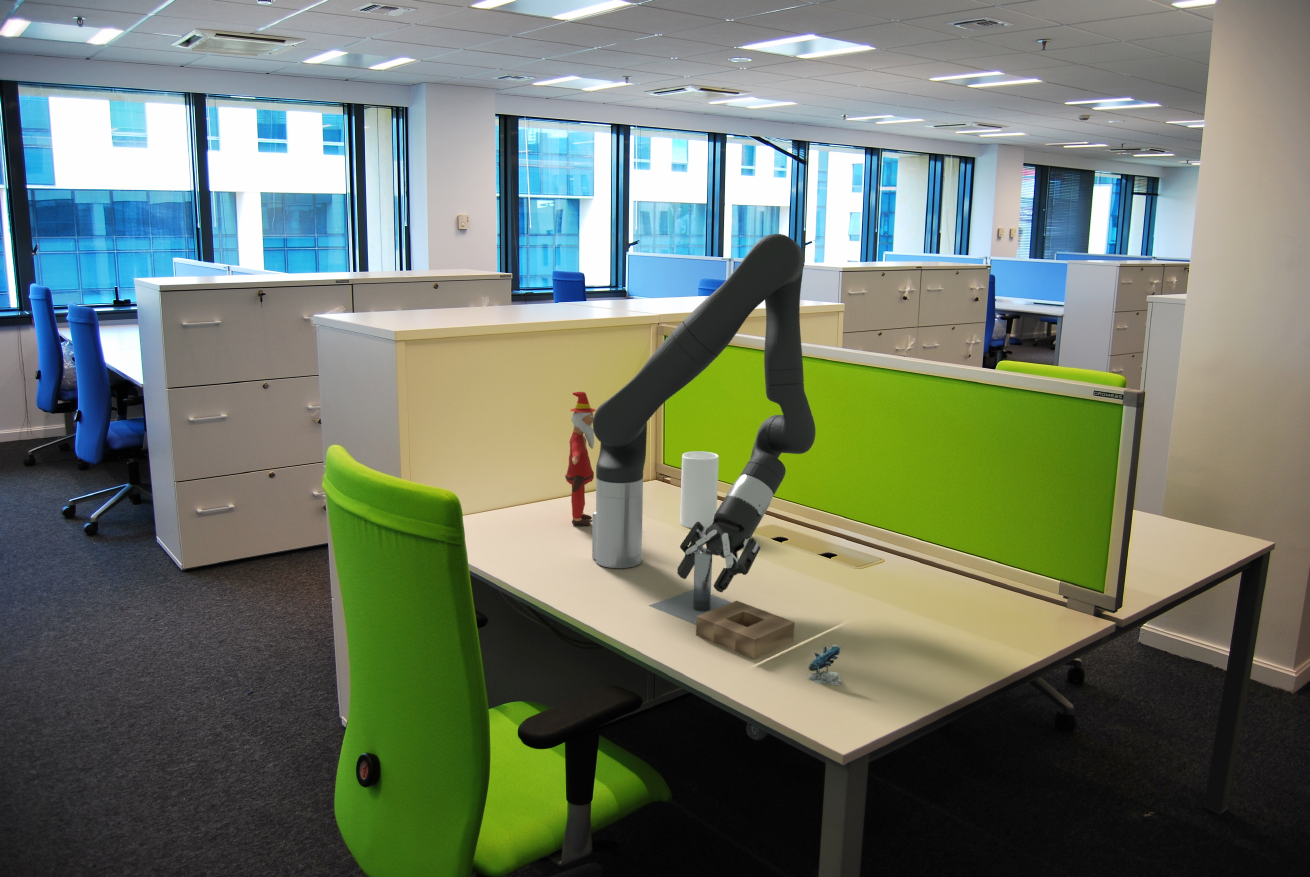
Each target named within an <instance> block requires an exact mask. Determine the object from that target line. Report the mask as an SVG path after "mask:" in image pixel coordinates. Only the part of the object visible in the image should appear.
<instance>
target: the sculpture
mask: <svg viewBox="0 0 1310 877" xmlns="http://www.w3.org/2000/svg"><path fill="white" fill-rule="evenodd" d="M822 650H823V651H822V652H821V653H819V652H818V651H815V650H814V651H813V655H814V656H815V657H814V659H813V660H812V661H811V662H810V664H809V666H808V669H809V671H812V672H811V673H810V674H808V675H807V679H808V681H812V682H813V683H815V684H817V685H823V684H829V685H831V686H840V685H841V684H842V678H840V674H839V673H838V672H836V671H829V667H831V666H832V665H833V664H834V662H835V660H838V659H839V657H838V656H839V655H840V654H841V647H840V646H838V645H837V644H833V645H832V646H831V647H829V648H828V647H827V645H825V646H824V647H823V649H822ZM825 668H826V670H822V669H825ZM820 670H822V671H820ZM815 671H816V672H815Z"/></svg>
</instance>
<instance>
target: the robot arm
mask: <svg viewBox="0 0 1310 877" xmlns="http://www.w3.org/2000/svg"><path fill="white" fill-rule="evenodd" d="M805 260H806V259H805V255H804V251H803V249H802V248H801V246H800V244H798V243H797V241H795V240H793V239H792V237H789V236H787V235H785V234H781V233H772V234H768V235H765V236H763V237H762V238H760V239H759V240H758V241H757V242H755V244H754V245H753V246H752V247H751V249H750V250H749V251H748V252H747V254H746V255H745V257H744V258H743V259H742V260H741V262H740V263H739V264H738V265H737V267H736V268H735V269H734V271H733V272H732V273H731V274H730V275H729V277H727V279H726V280H725V281H724V282H723V283H722V284H721V285H720V286H719V287H718V288H717V289H716V290H715V291H713V293H711V294H710V295H709V296H708V297H707V298H705V300H703V301H702V302H701V303H700V304H699V305H698V306H697V307H696V308H695V309H693V311H691V312H690V314H689V315H687V316H686V317H685V318H684V319H683V320H682V321H681V322H680V323H679V324H678V325H677V327H675V328H674V329H673V331H672V332H671V333H670V334H668V336H667V337H666V338H665V339H664V340H663V342H662V343H661V344H660V345H659V346H658V347H657V349H656V350H655V351H654V352H653V354H651V356H650V357H649V359H648V360H647V361H646V362H645V364H644V365H643V367H642V368H641V369H640V370H639V371H638V373H636V375H635V376H634V377H633V378H632V379H631V380H629V381H628V383H626V384H625V385H624V386H623V387H622V388H620V389H619V390H618V391H616V393H614V394H613V395H612V396H610V398H608V399H607V400H605V401H604V402H603V403H601V404H600V405H599V406H598V408H596V409H595V410H596V411H595V412H594V414H593V423H592V428H593V431H594V437H596V439H597V440H598V441H599V442H600V448H599V454H598V459H597V461H596V466H595V478H596V479H595V481H596V482H595V485H596V486H595V511H594V512H593V513H592V525H591V526H592V533H591V534H592V535H591V536H592V538H591V539H592V541H591V543H592V546H591V547H592V548H591V550H592V551H591V558H592V559H594V560H595V563H596V564H597V565H599V566H602V567H605V568H609V569H627V568H628V569H629V568H633V567H635V566H638V565H640V564H641V563H642V555H643V554H642V553H643V552H642V550H643V549H642V548H643V509H644V508H643V506H644V505H643V504H644V503H643V502H644V501H643V498H644V469H645V463H646V458H647V438H648V437H647V435H648V421H649V420H650V418H652V417H653V415H654V414H655V412H657V411H658V409H659V408H661V406H662V405H664V403H665V402H667V401H668V400H669V399H670V398H671V397H673V396H674V395H675V394H677V393H678V392H679V391H680V390H682V389H684V388H685V387H686V386H687V385H688V384H689V383H691V382H692V381H693V380H694V379H696V377H698V376H699V375H700V374H701V373H703V371H705V370H706V369H707V368H708V367H709V366H710V365H711V364H712V363H713V361H714V360H716V359H717V358H718V357H719V356H720V355H721V354H722V352H723V351H724V350H725V349H726V348H727V347H728V345H729V344H730V343H731V341H733V339H734V337H735V336H736V334H738V331H739V330H740V329H741V327H742V326H743V324H744V323H745V321H746V320H747V318H748V317H749V316H750V314H752V313H753V312H754V310H755V309H756V308H758V306H759V305H761V304H762V303H763V302H764V304H765V306H764V307H765V338H764V351H763V352H764V353H763V356H764V358H763V362H764V363H763V364H764V366H763V368H764V384H765V395H766V398H767V400H768V401H770V402H772V403H774V404H778V405H779V408H780V410H781V414H773V415H771V416H769V417H767V418H766V419H765V420H764V421H763V422H762V423H761V424H760V426H759V427H758V428H759V429H758V430H757V433H756V436H755V440H754V443H753V447H752V451H751V455H750V459H749V461H748V462H747V463H746V465H745V467H744V468H743V470H742V471H741V473H740V474H739V477H738V478H737V479H736V480H735V481H734V483H733V484H732V485H731V487H730V488H729V490H728V492H727V493H726V495H725V497H724V498H723V500H722V502H721V504H720V505H719V507H717V512H716V513H715V515H714V521H713V523H712V525H710V526H709V527H705V526H703V525H702V524H701V523H700V522H696V523H695V525H694V526H693V527H692V528H690V531H689V532H688V533H687V535H686V536H685V538H684V539H683V540H682V543H681V544H680V546H679V548H680V549H681V550H682V552H683V553H684V556H683V558H682V560H681V561H680V563H679V565H678V566H677V570H676V572H677V575H678V576H679V577H680V578H681V579H683V580H687V578H688V576H689V574H690V573H691V571H692V570H693V568H694V565H695V552H696V551H701V550H705V551H710V552H712V556H713V555H714V556H717V557H718V556H719V557H721V558H723V559H724V560H725V567H723V568H722V570H721V571H720V573H719V575H718V576H717V578H716V580H715V581H714V584H713V588H714V589H715V590H716V591H717V592H719V593H723V592H724V591H725V590H727V589H728V587H729V585H730V583H731V582H732V580H733V578H734V577H735V576H737V575H740V574H742V575H743V576H746V575H747V574H748V573H749V572H750V569H751V568H752V565H753V563H755V562H754V561H755V560H756V558H757V556H758V554H759V552H760V550H761V546H760V544H759V543H758V542H757V541H756V539H755V538H754V537H752V536H753V534H754V533H755V532H756V530H757V527H758V526H759V524H760V523H761V521H762V520H763V518H764V516H765V515H766V512H767V510H768V509H769V507H770V505H771V502H772V499H773V498H774V496H775V494H776V493H777V491H778V489H779V487H780V486H781V483H782V482H783V480H784V478H785V476H786V472H787V469H786V466H785V464H784V463H783V462H782V461H781V460H780V459H779V458H780V456H781V454H791V455H793V454H794V455H802V454H805V453H807V452H808V451H810V449H812V446H813V444H814V442H815V440H816V433H817V432H816V431H817V430H816V423H815V419H814V416H813V414H812V410H811V407H810V404H809V400H808V397H807V395H806V392H805V391H806V390H805V383H804V382H805V379H804V365H803V364H804V363H803V362H804V361H803V349H802V348H803V347H802V337H801V334H802V333H801V322H800V321H801V320H800V318H801V317H800V316H801V315H800V314H801V312H800V309H801V308H800V306H801V304H800V302H801V291H802V282H803V274H804V273H803V272H804V267H805ZM741 550H742V551H741ZM739 551H741V554H740V555H739Z"/></svg>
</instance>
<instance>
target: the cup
mask: <svg viewBox="0 0 1310 877" xmlns="http://www.w3.org/2000/svg"><path fill="white" fill-rule="evenodd" d="M681 454H682V456H681V477H680V479H681V482H680V483H681V484H680V510H679V512H680V514H679V515H680V516H679V524H680V525H681V526H682V527H685V528H688V529H692V527H693V526H694V525H695V523H696V522H700V523H701V524H702V525H703V526H705V527H709V526H710V525H712V523H713V521H714V515H715V513H716V512H717V510H718V488H719V487H718V486H719V483H718V481H719V456H720V455H718V454H717V453H715V452H710V451H701V450H700V451H699V450H698V451H695V450H693V451H687V452H684V453H681Z"/></svg>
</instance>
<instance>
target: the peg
mask: <svg viewBox="0 0 1310 877" xmlns="http://www.w3.org/2000/svg"><path fill="white" fill-rule="evenodd" d="M712 567H713V554H712V552H710V551H705V550H701V551H696V552H695V565H694V566H693V568H694V570H693V573H694V574H693V589H694V595H693V609H694V610H696V611H708V610H710V604H711V595H712V574H713V572H712V571H713V568H712Z"/></svg>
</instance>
